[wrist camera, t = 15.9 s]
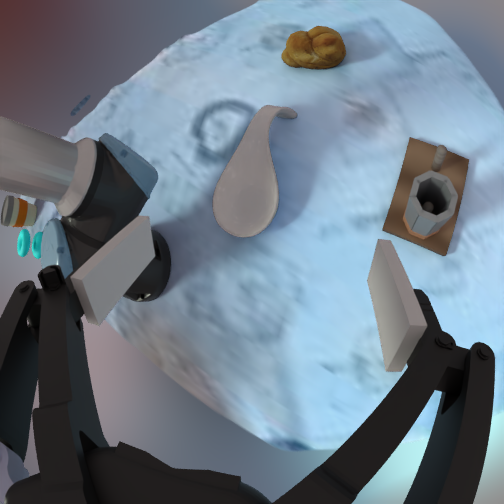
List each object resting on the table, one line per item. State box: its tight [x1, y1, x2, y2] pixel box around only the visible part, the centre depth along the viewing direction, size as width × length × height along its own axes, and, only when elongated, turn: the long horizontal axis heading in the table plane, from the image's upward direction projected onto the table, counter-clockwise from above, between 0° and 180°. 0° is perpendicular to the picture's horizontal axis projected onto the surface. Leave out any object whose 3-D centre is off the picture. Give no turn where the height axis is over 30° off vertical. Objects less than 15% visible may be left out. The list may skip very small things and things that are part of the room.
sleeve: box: [403, 170, 458, 240], centre depth 29 cm, size 5×5×11 cm
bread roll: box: [282, 26, 346, 69], centre depth 41 cm, size 13×10×8 cm
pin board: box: [383, 137, 469, 256], centre depth 32 cm, size 15×10×8 cm, turn 156°
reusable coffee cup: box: [1, 196, 37, 227], centre depth 87 cm, size 13×13×15 cm
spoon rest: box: [213, 105, 297, 237], centre depth 44 cm, size 24×12×7 cm, turn 159°
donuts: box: [17, 229, 43, 259], centre depth 81 cm, size 10×10×10 cm
